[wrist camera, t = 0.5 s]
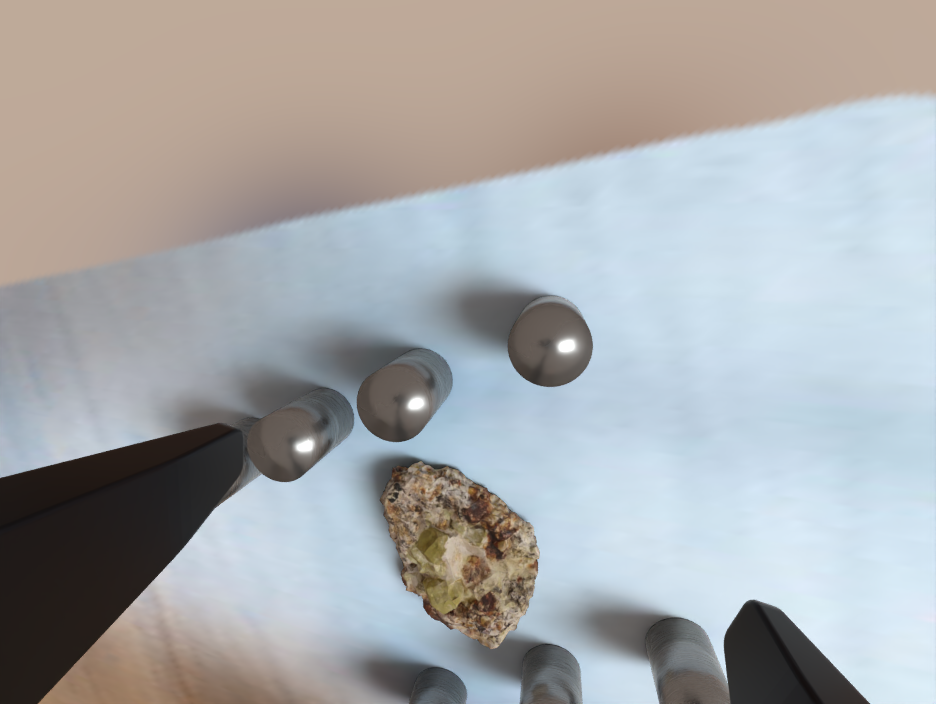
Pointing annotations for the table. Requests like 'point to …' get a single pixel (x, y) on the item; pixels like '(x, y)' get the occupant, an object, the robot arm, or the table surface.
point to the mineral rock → (461, 550)
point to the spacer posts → (403, 417)
